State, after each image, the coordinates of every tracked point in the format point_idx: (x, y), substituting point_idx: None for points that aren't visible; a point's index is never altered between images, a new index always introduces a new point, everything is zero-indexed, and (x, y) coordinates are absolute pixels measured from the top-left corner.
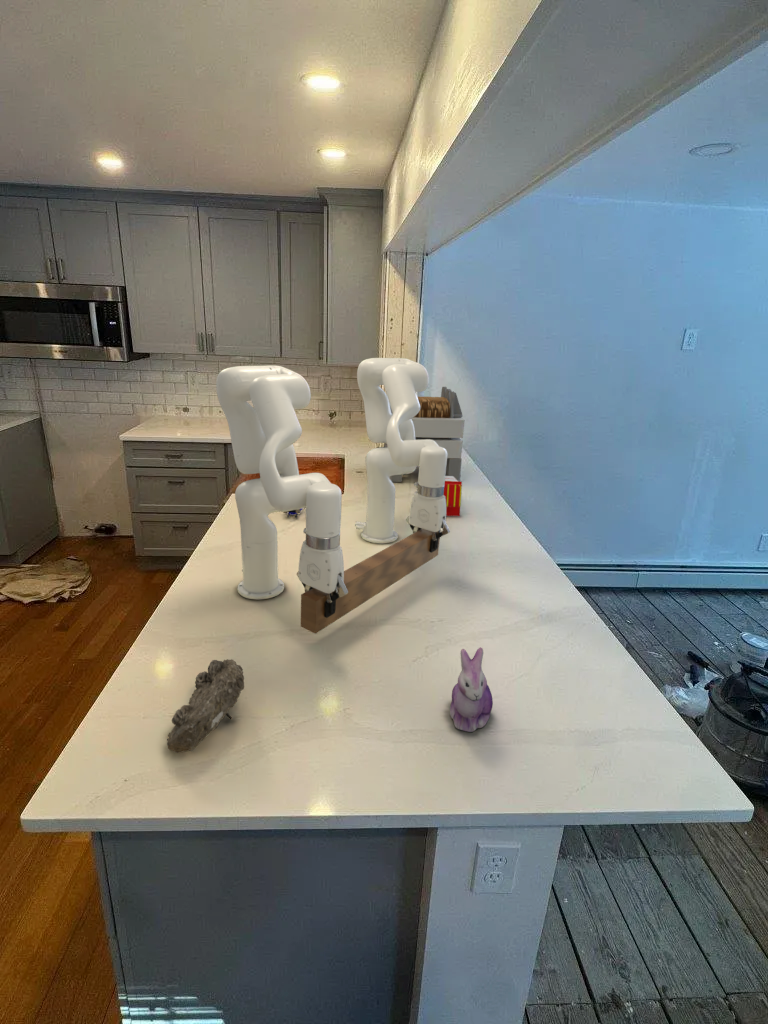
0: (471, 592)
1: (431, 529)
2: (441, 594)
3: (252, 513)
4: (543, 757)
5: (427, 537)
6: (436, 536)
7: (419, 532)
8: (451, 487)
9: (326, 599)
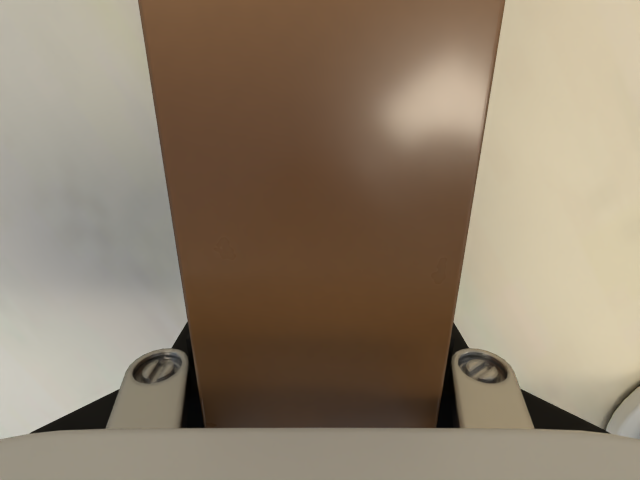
0: (14, 211)
1: (45, 465)
2: (100, 79)
3: None
4: None
5: (184, 297)
6: (121, 408)
7: (391, 366)
8: None
9: None
